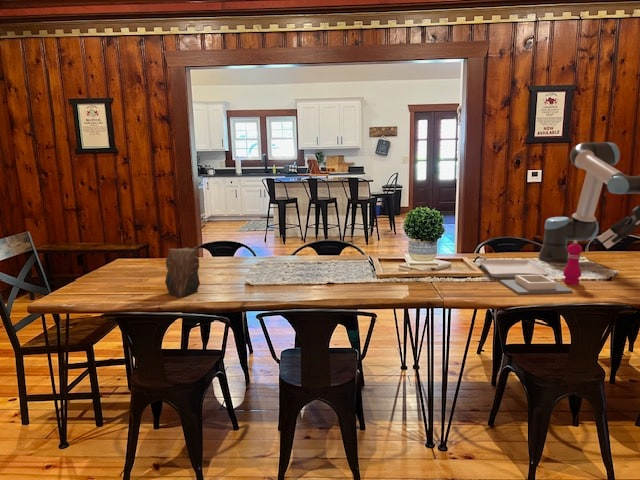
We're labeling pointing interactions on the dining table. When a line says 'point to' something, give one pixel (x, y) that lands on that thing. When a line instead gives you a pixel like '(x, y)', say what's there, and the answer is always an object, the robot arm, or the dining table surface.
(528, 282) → the caddy
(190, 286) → the owl
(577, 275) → the pepper mill
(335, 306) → the dining table surface
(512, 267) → the square plate
